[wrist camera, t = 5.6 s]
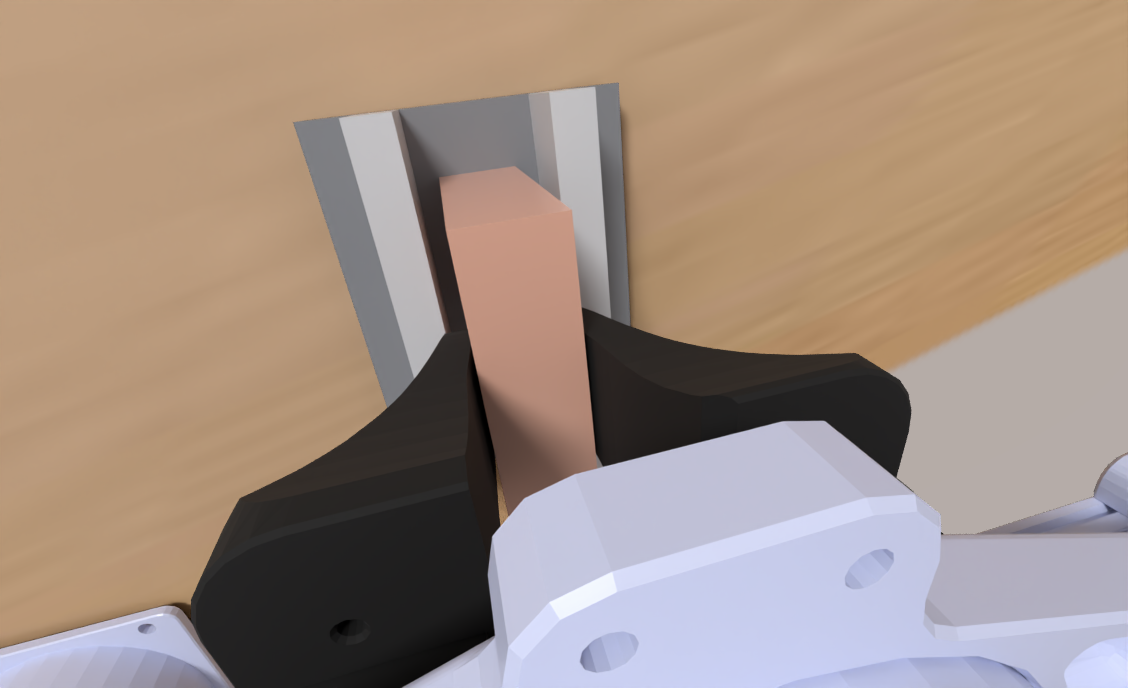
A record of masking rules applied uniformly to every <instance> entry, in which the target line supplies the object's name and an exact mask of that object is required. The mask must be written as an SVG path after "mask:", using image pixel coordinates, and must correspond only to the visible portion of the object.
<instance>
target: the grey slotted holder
mask: <svg viewBox="0 0 1128 688" xmlns="http://www.w3.org/2000/svg"><path fill="white" fill-rule="evenodd" d="M293 123H294V126H295V129H296V132H297V135H298V138H299V141H300V144H301V147H302V150H303V153H304V156H305V159H306V163H307V166H308V169H309V172H310V175H311V178H312V181H313V184H314V187H315V190H316V193H317V196H318V199H319V202H320V205H321V208H322V211H323V214H324V217H325V220H326V223H327V226H328V229H329V232H330V235H331V238H332V241H333V244H334V247H335V250H336V253H337V256H338V259H339V263H340V266H341V269H342V272H343V275H344V278H345V281H346V284H347V287H348V290H349V293H350V296H351V299H352V302H353V305H354V308H355V311H356V314H357V317H358V320H359V323H360V326H361V329H362V332H363V335H364V338H365V341H366V344H367V347H368V350H369V353H370V356H371V359H372V362H373V366H374V369H375V372H376V375H377V378H378V381H379V384H380V387H381V390H382V393H383V396H384V399H385V402H386V405H387V408H388V407H389V406H390V405H391V404H392V403H393V402H394V401H395V400H396V399H397V398H398V397H399V396H400V395H401V394H402V393H403V392H404V391H405V389H406V388H407V387H408V386H409V385H410V383H411V382H412V381H413V380H414V378H415V377H416V376H417V375H418V373H419V372H420V371H421V369H422V368H423V366H424V365H425V363H426V362H427V360H428V359H429V357H430V356H431V354H432V353H433V351H434V349H435V348H436V346H437V344H438V343H439V341H440V339H441V338H442V337H443V335H444V334H445V333H450V332H455V331H460V330H465V329H467V324H466V320H465V315H464V311H463V306H462V301H461V297H460V292H459V288H458V283H457V279H456V274H455V270H454V265H453V260H452V256H451V251H450V247H449V242H448V238H447V233H446V227H445V219H444V212H443V204H442V196H441V188H440V181H439V177H444V176H451V175H458V174H465V173H471V172H478V171H485V170H492V169H499V168H506V167H513V166H515V167H517V168H518V169H519V170H521V171H522V172H523V173H525V174H526V175H527V176H528V177H530V178H531V179H532V180H534V181H535V182H536V183H538V184H539V185H540V186H541V187H543V188H544V189H545V190H547V191H548V192H549V193H551V194H552V195H553V196H554V197H556V198H557V199H558V200H560V201H561V202H562V203H564V204H565V205H566V206H567V207H569V208H570V209H571V210H572V216H573V226H574V236H575V247H576V257H577V267H578V277H579V287H580V298H581V307H583V308H586V309H589V310H591V311H594V312H596V313H599V314H601V315H604V316H606V317H608V318H611V319H613V320H615V321H618V322H620V323H623V324H625V325H628V326H630V307H629V286H628V266H627V245H626V225H625V204H624V184H623V163H622V143H621V122H620V102H619V83H610V84H601V85H593V86H584V87H576V88H568V89H560V90H552V91H543V92H535V93H527V94H519V95H511V96H502V97H494V98H486V99H478V100H470V101H462V102H453V103H445V104H437V105H429V106H421V107H412V108H404V109H396V110H388V111H380V112H371V113H363V114H355V115H347V116H339V117H330V118H322V119H314V120H306V121H299V122H293ZM495 458H496V457H495ZM596 461H597V468H601V467H603V466H602V464H601V462H600V460H599V458H598V457H597V455H596Z"/></svg>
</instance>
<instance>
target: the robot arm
mask: <svg viewBox="0 0 1128 688" xmlns="http://www.w3.org/2000/svg"><path fill="white" fill-rule="evenodd" d="M581 308H582V318H583V328H584V338H585V349H586V359H587V369H588V379H589V390H590V400H591V410H592V420H593V430H594V441H595V451H596V455H597V457H598V458H599V460H600V462H601V464H602V466H603V467H601V468H597V469H593V470H590V471H586V472H582V473H578V474H574V475H572V476H570V477H568V478H566V479H564V480H562V481H559V482H557V483H555V484H553V485H551V486H549V487H547V488H545V489H543V490H541V491H539V492H536V493H534V494H532V495H530V496H528V497H526V498H524V499H523V501H522V502H521V503H520V504H519V505H518V506H517V508H516V509H515V510H514V511H513V512H512V514H511V515H510V516H509V517H508V518H507V519H506V521H505V522H504V523H503V524H502V525H501V526H500V518H499V508H498V493H497V479H496V464H495V452H494V447H493V443H492V438H491V434H490V429H489V425H488V420H487V416H486V411H485V406H484V402H483V397H482V393H481V388H480V384H479V379H478V374H477V370H476V365H475V361H474V356H473V352H472V347H471V343H470V338H469V333H468V329H465V330H460V331H455V332H450V333H445V334H444V335H443V337H442V338H441V339H440V341H439V343H438V344H437V346H436V348H435V349H434V351H433V353H432V354H431V356H430V357H429V359H428V360H427V362H426V363H425V365H424V366H423V368H422V369H421V371H420V372H419V373H418V375H417V376H416V377H415V378H414V380H413V381H412V382H411V383H410V385H409V386H408V387H407V388H406V389H405V391H404V392H403V393H402V394H401V395H400V396H399V397H398V398H397V399H396V400H395V401H394V402H393V403H392V404H391V405H390V406H389V407H388V408H387V409H386V410H385V411H383V412H382V413H381V414H380V415H379V416H378V417H377V418H376V419H374V420H373V421H372V422H370V423H369V424H368V425H366V426H365V427H364V428H362V429H361V430H360V431H358V432H357V433H356V434H355V435H353V436H352V437H351V438H349V439H348V440H347V441H345V442H344V443H342V444H341V445H339V446H338V447H336V448H334V449H333V450H331V451H330V452H328V453H327V454H325V455H323V456H322V457H320V458H318V459H316V460H315V461H313V462H311V463H310V464H308V465H306V466H304V467H303V468H301V469H299V470H297V471H295V472H293V473H291V474H289V475H287V476H285V477H283V478H281V479H279V480H277V481H275V482H273V483H271V484H269V485H267V486H265V487H263V488H261V489H259V490H257V491H255V492H253V493H250V494H248V495H246V496H244V497H241V498H240V499H239V501H238V502H237V504H236V506H235V508H234V510H233V512H232V513H231V515H230V517H229V519H228V521H227V523H226V525H225V526H224V529H223V531H222V533H221V535H220V537H219V539H218V542H217V544H216V546H215V548H214V550H213V552H212V555H211V557H210V559H209V561H208V563H207V565H206V568H205V570H204V572H203V574H202V576H201V578H200V581H199V583H198V585H197V588H196V590H195V592H194V594H193V597H192V599H191V622H190V620H189V619H188V618H187V616H186V615H185V614H184V612H183V611H182V610H181V609H180V608H178V607H175V606H161V607H157V608H154V609H150V610H146V611H142V612H138V613H135V614H131V615H127V616H123V617H119V618H116V619H112V620H108V621H104V622H100V623H97V624H93V625H89V626H85V627H81V628H78V629H74V630H70V631H66V632H62V633H59V634H55V635H51V636H47V637H43V638H40V639H36V640H32V641H28V642H24V643H21V644H17V645H13V646H9V647H5V648H2V649H0V688H1128V453H1125V454H1123V455H1121V456H1119V457H1117V458H1116V459H1115V460H1113V461H1112V462H1111V463H1110V464H1109V465H1108V466H1107V467H1106V468H1105V470H1104V471H1103V473H1102V474H1101V476H1100V478H1099V479H1098V481H1097V484H1096V486H1095V489H1094V496H1093V497H1090V498H1087V499H1084V500H1081V501H1078V502H1075V503H1072V504H1068V505H1065V506H1062V507H1059V508H1056V509H1053V510H1049V511H1046V512H1043V513H1040V514H1037V515H1034V516H1031V517H1028V518H1024V519H1021V520H1018V521H1015V522H1012V523H1009V524H1006V525H1003V526H999V527H996V528H993V529H990V530H987V531H984V532H981V533H977V534H943V533H942V532H941V515H940V514H939V513H938V512H937V511H936V510H935V509H933V508H932V507H930V505H928V504H927V503H926V502H925V501H923V500H922V499H921V498H920V497H919V496H917V495H916V494H915V493H914V492H913V491H912V490H911V489H910V488H908V487H907V486H906V485H905V484H903V483H902V482H901V481H900V480H899V479H897V478H896V477H897V472H898V469H899V466H900V462H901V458H902V454H903V451H904V447H905V443H906V440H907V435H908V432H909V426H910V419H911V406H910V400H909V394H908V392H907V391H906V389H905V387H904V386H903V384H902V383H901V381H900V380H899V379H897V378H896V377H894V376H892V375H891V374H889V373H888V372H886V371H884V370H883V369H881V368H880V367H878V366H876V365H875V364H873V363H872V362H870V361H868V360H867V359H865V358H864V357H862V356H860V355H859V354H856V353H844V354H814V355H780V354H758V353H745V352H736V351H728V350H720V349H713V348H707V347H701V346H696V345H692V344H687V343H683V342H678V341H674V340H670V339H666V338H663V337H660V336H657V335H654V334H650V333H647V332H644V331H641V330H639V329H636V328H633V327H631V326H628V325H625V324H623V323H620V322H618V321H615V320H613V319H611V318H608V317H606V316H604V315H601V314H599V313H596V312H594V311H591V310H589V309H586V308H583V307H581Z"/></svg>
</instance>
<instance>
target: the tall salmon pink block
mask: <svg viewBox="0 0 1128 688" xmlns="http://www.w3.org/2000/svg"><path fill="white" fill-rule="evenodd" d="M439 181H440V188H441V196H442V204H443V212H444V219H445V227H446V233H447V238H448V242H449V247H450V251H451V256H452V260H453V265H454V270H455V274H456V279H457V283H458V288H459V292H460V297H461V301H462V306H463V311H464V315H465V320H466V324H467V329H468V333H469V338H470V343H471V347H472V352H473V356H474V361H475V365H476V370H477V374H478V379H479V384H480V388H481V393H482V397H483V402H484V406H485V411H486V416H487V420H488V425H489V429H490V434H491V438H492V443H493V447H494V452H495V457H496V461H497V466H498V470H499V475H500V479H501V484H502V489H503V493H504V498H505V502H506V507H507V511H508V516H510V515H511V514H512V512H513V511H514V510H515V509H516V508H517V506H518V505H519V504H520V503H521V502H522V501H523V499H524V498H526V497H528V496H530V495H532V494H534V493H536V492H539V491H541V490H543V489H545V488H547V487H549V486H551V485H553V484H555V483H557V482H559V481H562V480H564V479H566V478H568V477H570V476H572V475H574V474H578V473H582V472H586V471H590V470H593V469H597V461H596V451H595V441H594V430H593V420H592V410H591V400H590V390H589V379H588V369H587V359H586V349H585V338H584V328H583V318H582V308H581V298H580V287H579V277H578V267H577V257H576V247H575V236H574V226H573V216H572V210H571V209H570V208H569V207H567V206H566V205H565V204H564V203H562V202H561V201H560V200H558V199H557V198H556V197H554V196H553V195H552V194H551V193H549V192H548V191H547V190H545V189H544V188H543V187H541V186H540V185H539V184H538V183H536V182H535V181H534V180H532V179H531V178H530V177H528V176H527V175H526V174H525V173H523V172H522V171H521V170H519V169H518V168H517V167H515V166H513V167H506V168H499V169H492V170H485V171H478V172H471V173H465V174H458V175H451V176H444V177H439Z"/></svg>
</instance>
